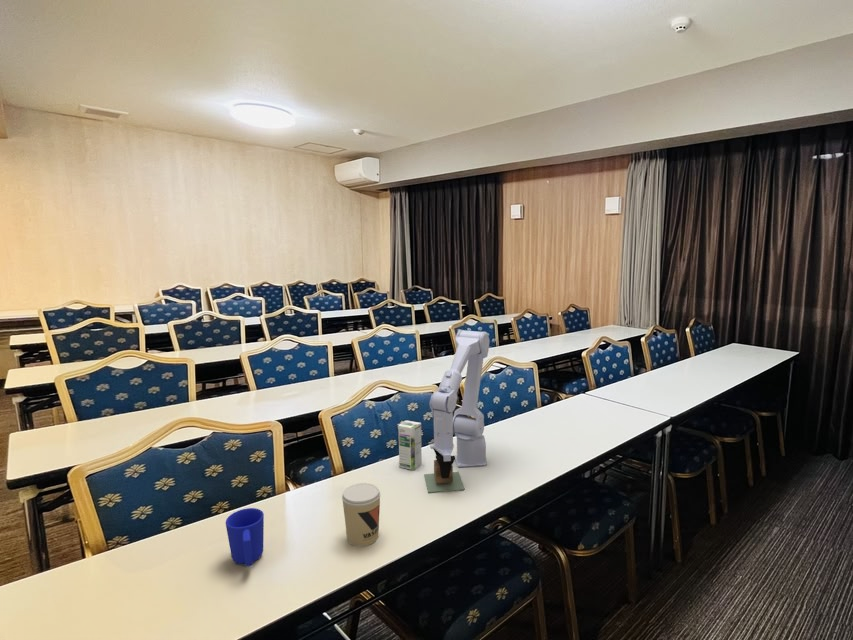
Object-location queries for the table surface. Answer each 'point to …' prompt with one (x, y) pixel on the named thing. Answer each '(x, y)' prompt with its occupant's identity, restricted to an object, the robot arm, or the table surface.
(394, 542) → the table surface
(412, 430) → the syrup box
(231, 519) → the mug
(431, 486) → the green mat
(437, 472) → the walnut block
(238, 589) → the table surface
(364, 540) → the beige lidded canister
